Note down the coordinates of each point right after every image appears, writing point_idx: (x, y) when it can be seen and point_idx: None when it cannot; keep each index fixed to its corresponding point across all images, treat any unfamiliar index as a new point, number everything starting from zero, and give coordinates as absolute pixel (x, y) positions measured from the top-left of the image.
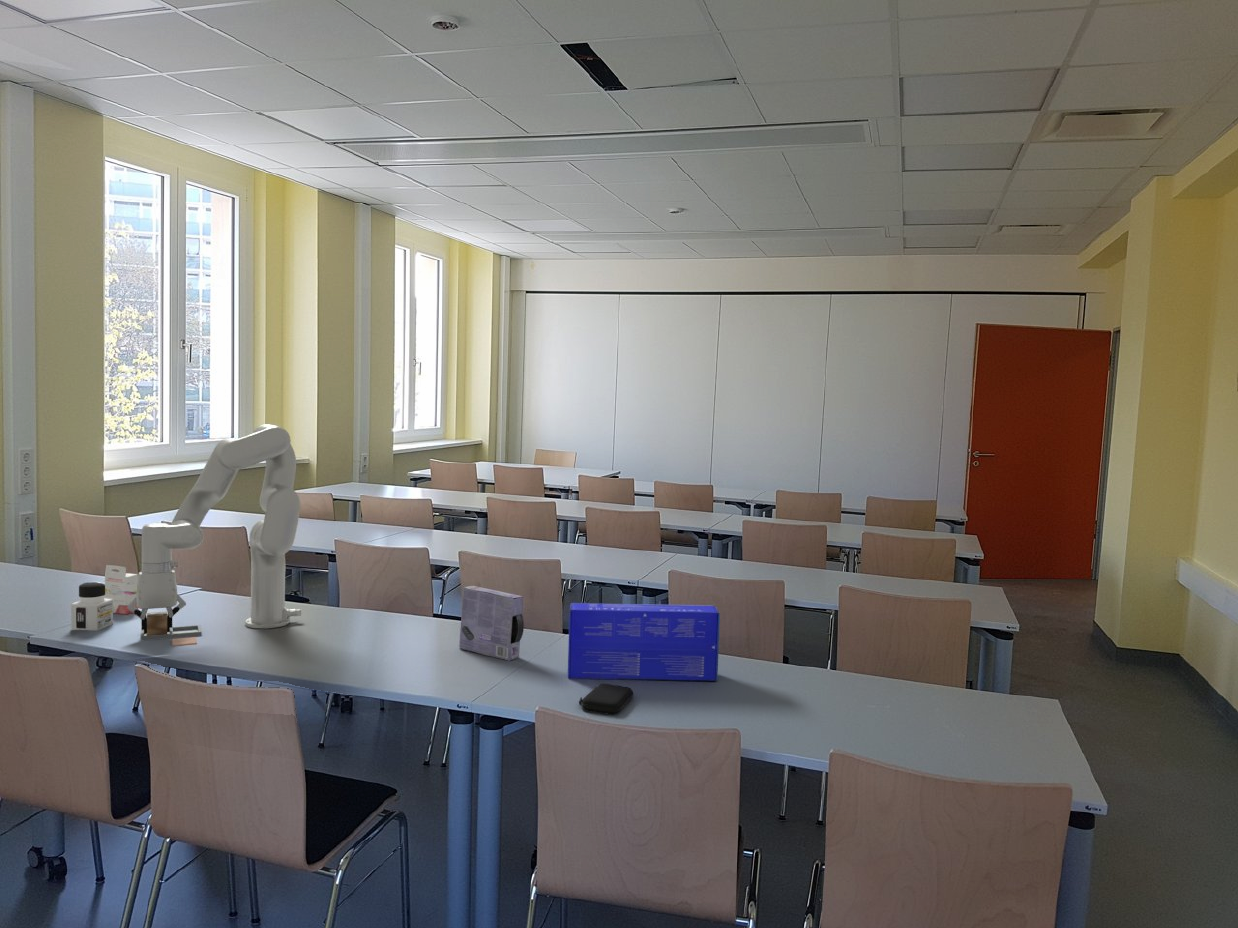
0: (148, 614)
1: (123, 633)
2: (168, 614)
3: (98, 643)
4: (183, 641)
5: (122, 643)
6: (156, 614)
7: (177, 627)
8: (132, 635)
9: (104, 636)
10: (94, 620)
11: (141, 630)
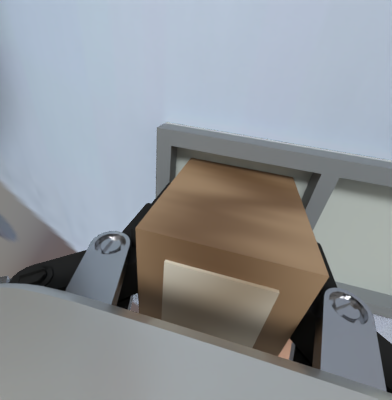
0: (149, 277)
1: (80, 56)
2: (289, 359)
3: (28, 189)
4: (289, 343)
5: (104, 231)
6: (205, 317)
7: (372, 183)
8: (128, 129)
9: (9, 82)
10: None
11: (158, 153)
